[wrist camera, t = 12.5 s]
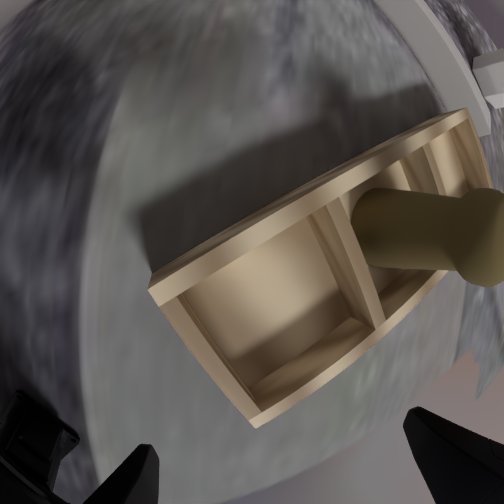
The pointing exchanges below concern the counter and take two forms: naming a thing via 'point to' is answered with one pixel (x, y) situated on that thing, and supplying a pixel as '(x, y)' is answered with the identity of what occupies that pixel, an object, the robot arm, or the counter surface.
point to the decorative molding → (438, 58)
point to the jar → (490, 76)
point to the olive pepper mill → (433, 232)
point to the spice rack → (310, 273)
